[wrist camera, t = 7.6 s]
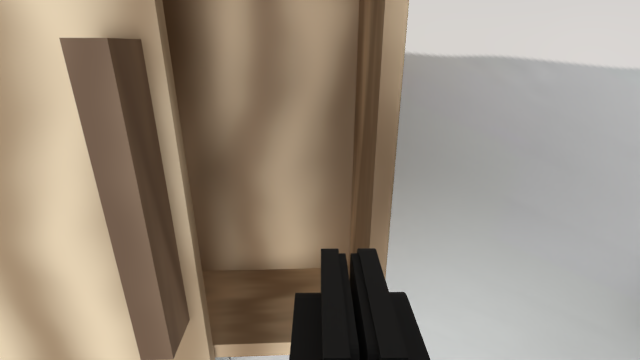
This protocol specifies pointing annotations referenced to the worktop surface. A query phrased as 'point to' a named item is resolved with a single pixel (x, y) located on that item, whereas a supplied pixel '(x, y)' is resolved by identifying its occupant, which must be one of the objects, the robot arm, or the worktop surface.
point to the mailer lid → (94, 188)
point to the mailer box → (284, 148)
